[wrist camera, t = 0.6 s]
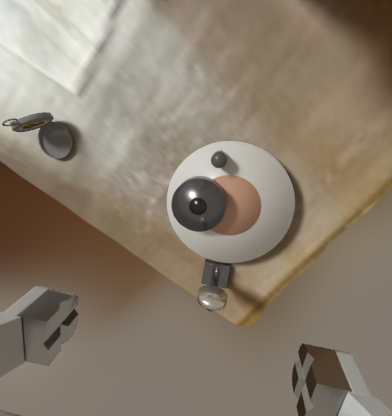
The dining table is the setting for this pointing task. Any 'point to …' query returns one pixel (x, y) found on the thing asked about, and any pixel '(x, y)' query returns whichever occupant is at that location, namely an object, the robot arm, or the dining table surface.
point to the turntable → (238, 201)
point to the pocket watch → (46, 133)
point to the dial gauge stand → (214, 285)
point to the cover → (199, 203)
